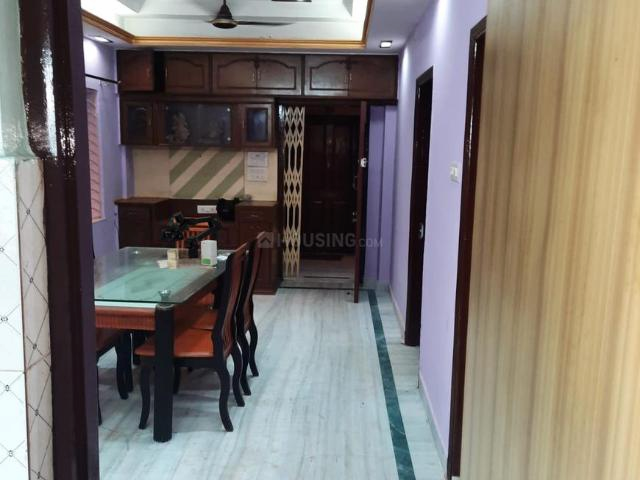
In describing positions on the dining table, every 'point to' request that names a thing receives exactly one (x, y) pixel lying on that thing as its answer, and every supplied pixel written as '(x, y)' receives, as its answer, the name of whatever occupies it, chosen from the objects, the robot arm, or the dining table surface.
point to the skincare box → (209, 252)
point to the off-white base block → (162, 263)
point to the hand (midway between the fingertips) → (163, 241)
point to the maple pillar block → (173, 258)
